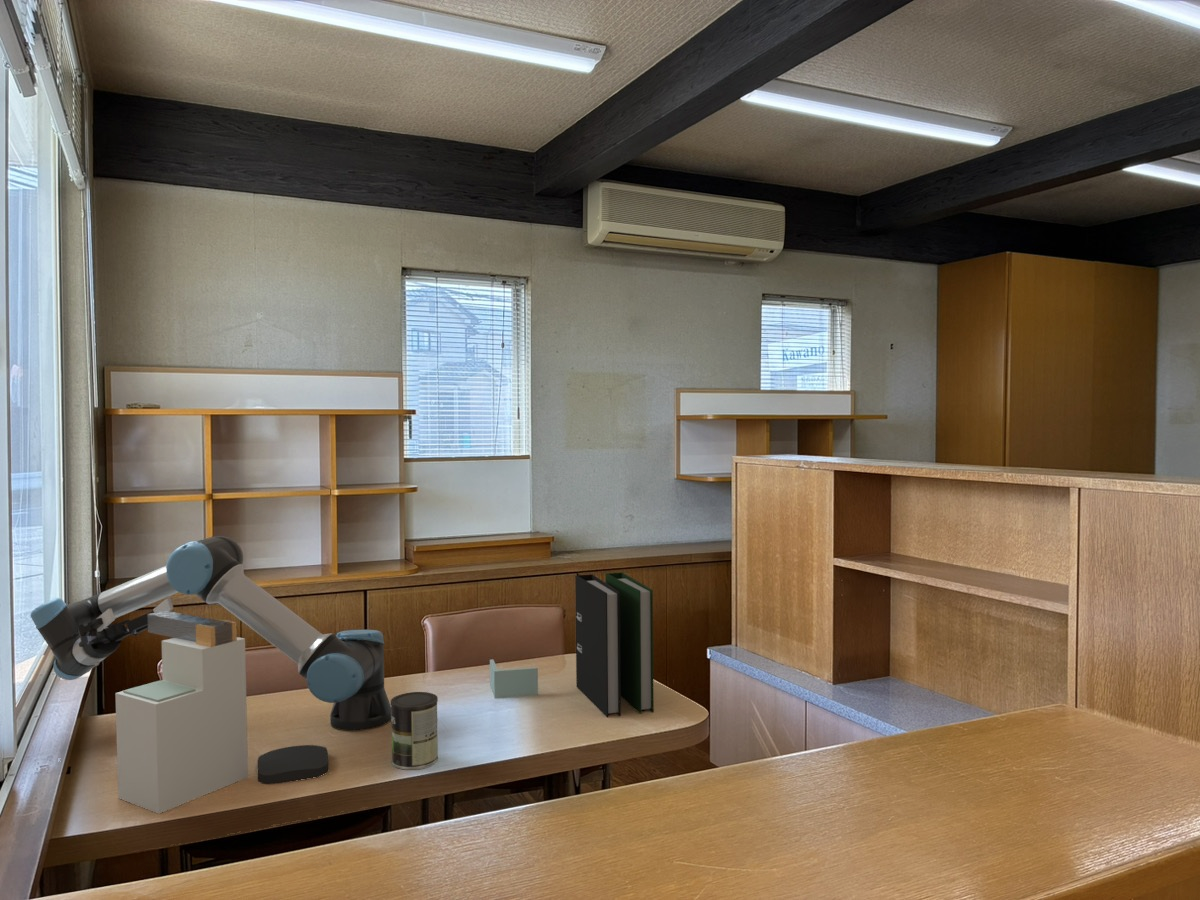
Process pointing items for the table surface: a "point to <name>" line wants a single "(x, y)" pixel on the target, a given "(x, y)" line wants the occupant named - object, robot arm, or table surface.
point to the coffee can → (414, 730)
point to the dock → (184, 727)
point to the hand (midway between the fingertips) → (141, 608)
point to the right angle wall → (513, 681)
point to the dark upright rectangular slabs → (614, 642)
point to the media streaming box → (292, 764)
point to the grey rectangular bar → (192, 628)
